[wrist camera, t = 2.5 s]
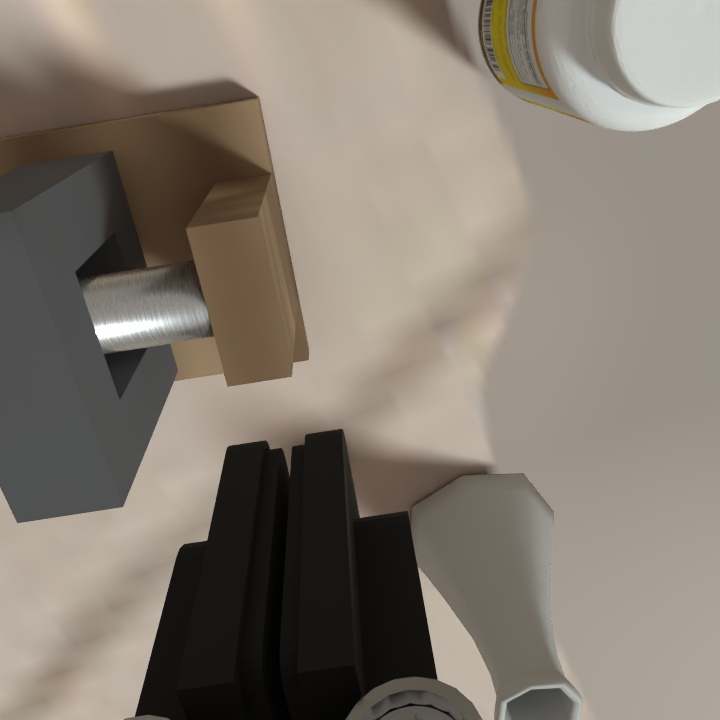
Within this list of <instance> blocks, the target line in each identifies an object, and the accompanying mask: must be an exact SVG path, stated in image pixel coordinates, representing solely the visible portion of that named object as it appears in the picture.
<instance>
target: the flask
mask: <svg viewBox="0 0 720 720" xmlns="http://www.w3.org/2000/svg"><path fill="white" fill-rule="evenodd" d="M553 529H554V511H553V510H552V509H551V507H550V506H549V505H548V504H547V502H546V501H545V500H544V499H543V497H542V496H541V495H540V494H539V492H538V491H537V490H536V489H535V487H534V486H533V485H532V484H531V482H530V481H529V480H528V479H527V477H526V476H525V475H524V474H523V473H521V474H491V475H462V476H461V477H459V478H458V479H456V480H454V481H453V482H451V483H450V484H448V485H446V486H445V487H443V488H442V489H440V490H438V491H437V492H435V493H434V494H432V495H430V496H429V497H427V498H426V499H424V500H423V501H421V502H419V503H418V504H416V505H415V506H413V507H412V518H411V533H412V539H413V544H414V550H415V555H416V561H417V564H418V566H419V567H420V568H421V570H422V571H423V572H424V573H425V575H426V576H427V577H428V578H429V580H430V581H431V582H432V584H433V585H434V586H435V587H436V589H437V590H438V591H439V592H440V594H441V595H442V596H443V598H444V599H445V600H446V602H447V603H448V605H449V606H450V607H451V609H452V610H453V611H454V613H455V614H456V616H457V617H458V618H459V620H460V621H461V623H462V624H463V625H464V627H465V628H466V630H467V631H468V632H469V634H470V635H471V637H472V638H473V639H474V641H475V644H476V646H477V648H478V650H479V652H480V654H481V656H482V658H483V660H484V662H485V664H486V666H487V668H488V670H489V672H490V674H491V678H492V681H493V685H494V688H495V692H496V695H497V696H496V704H495V712H494V720H579V718H580V714H581V709H582V704H583V700H582V697H581V695H580V694H579V692H578V691H577V690H576V689H575V687H574V686H573V685H572V684H571V683H570V682H569V681H568V680H567V679H566V678H565V676H564V673H563V670H562V667H561V665H560V662H559V659H558V656H557V651H556V645H555V639H554V633H553V627H552V621H551V564H552V547H553Z"/></svg>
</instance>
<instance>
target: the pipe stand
mask: <svg viewBox="0 0 720 720" xmlns="http://www.w3.org/2000/svg"><path fill="white" fill-rule="evenodd" d="M112 150H113V154H114V157H115V160H116V164H117V167H118V170H119V174H120V177H121V181H122V184H123V187H124V191H125V194H126V197H127V201H128V204H129V207H130V211H131V214H132V217H133V221H134V224H135V227H136V231H137V234H138V238H139V241H140V244H141V248H142V251H143V254H144V258H145V261H146V264H147V267H153V266H159V265H166V264H172V263H178V262H185V261H191V260H194V262H195V265H196V269H197V273H198V277H199V280H200V284H201V288H202V292H203V296H204V299H205V303H206V307H207V311H208V314H209V318H210V322H211V326H212V330H213V333H214V337H210V338H204V339H197V340H191V341H184V342H178V343H172V344H170V345H171V348H172V352H173V355H174V358H175V362H176V365H177V368H178V372H177V375H176V377H175V380H174V381H178V380H184V379H190V378H197V377H203V376H210V375H216V374H222V373H224V375H225V379H226V382H227V386H235V385H241V384H247V383H254V382H260V381H267V380H273V379H280V378H286V377H292V368H293V362H300V361H306V360H309V347H308V342H307V337H306V332H305V327H304V322H303V317H302V312H301V307H300V302H299V297H298V292H297V287H296V282H295V277H294V272H293V267H292V262H291V257H290V252H289V246H288V241H287V236H286V231H285V226H284V221H283V216H282V211H281V206H280V201H279V196H278V191H277V186H276V181H275V176H274V171H273V166H272V161H271V156H270V151H269V146H268V141H267V136H266V130H265V125H264V120H263V115H262V110H261V105H260V100H259V97H253V98H247V99H241V100H235V101H228V102H222V103H216V104H210V105H204V106H197V107H191V108H185V109H179V110H173V111H166V112H160V113H154V114H148V115H142V116H135V117H129V118H123V119H117V120H111V121H104V122H98V123H92V124H86V125H79V126H73V127H67V128H61V129H55V130H48V131H42V132H36V133H30V134H24V135H17V136H11V137H5V138H0V176H1V175H3V174H6V173H8V172H10V171H12V170H14V169H16V168H18V167H21V166H23V165H25V164H31V163H37V162H44V161H50V160H56V159H62V158H69V157H75V156H81V155H87V154H93V153H100V152H106V151H112Z"/></svg>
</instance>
